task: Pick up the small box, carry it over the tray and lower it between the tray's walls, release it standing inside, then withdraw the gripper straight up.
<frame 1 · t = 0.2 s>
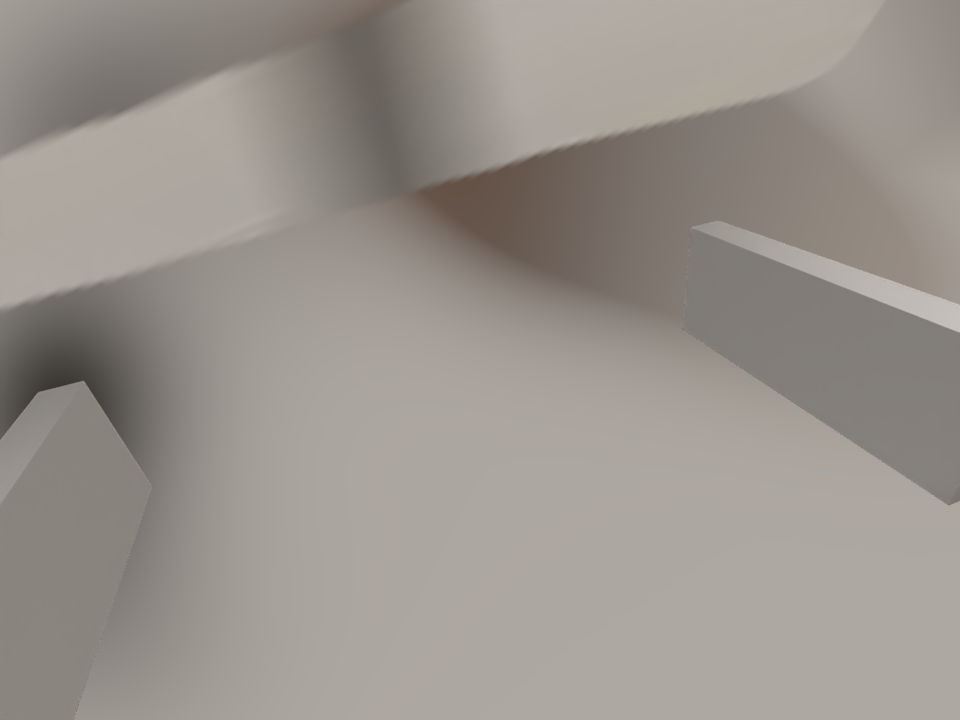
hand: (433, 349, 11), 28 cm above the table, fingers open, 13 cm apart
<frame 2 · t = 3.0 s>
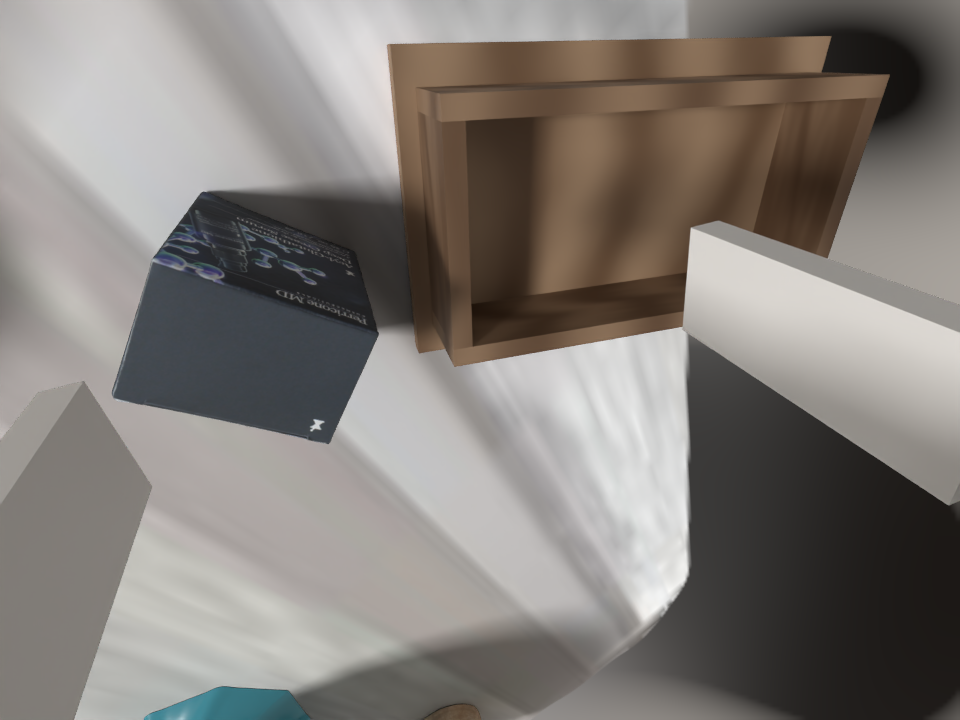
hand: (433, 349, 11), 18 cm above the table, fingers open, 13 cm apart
box: (266, 267, 27), on the table
tray: (609, 196, 31), on the table
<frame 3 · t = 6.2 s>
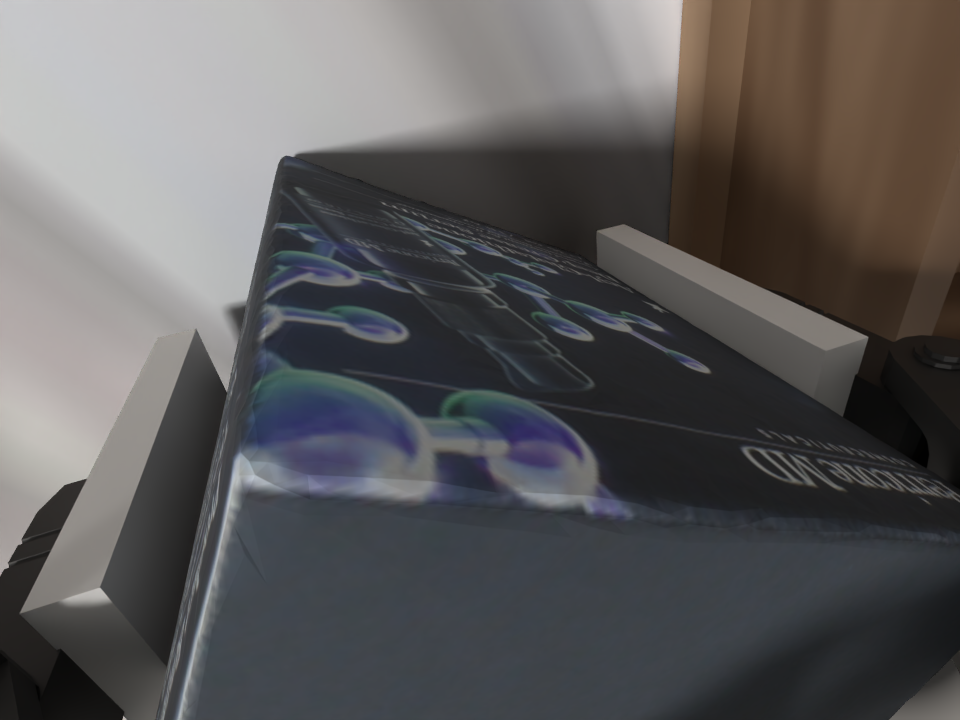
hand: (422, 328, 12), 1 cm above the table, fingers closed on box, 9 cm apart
box: (412, 307, 13), on the table, touching gripper
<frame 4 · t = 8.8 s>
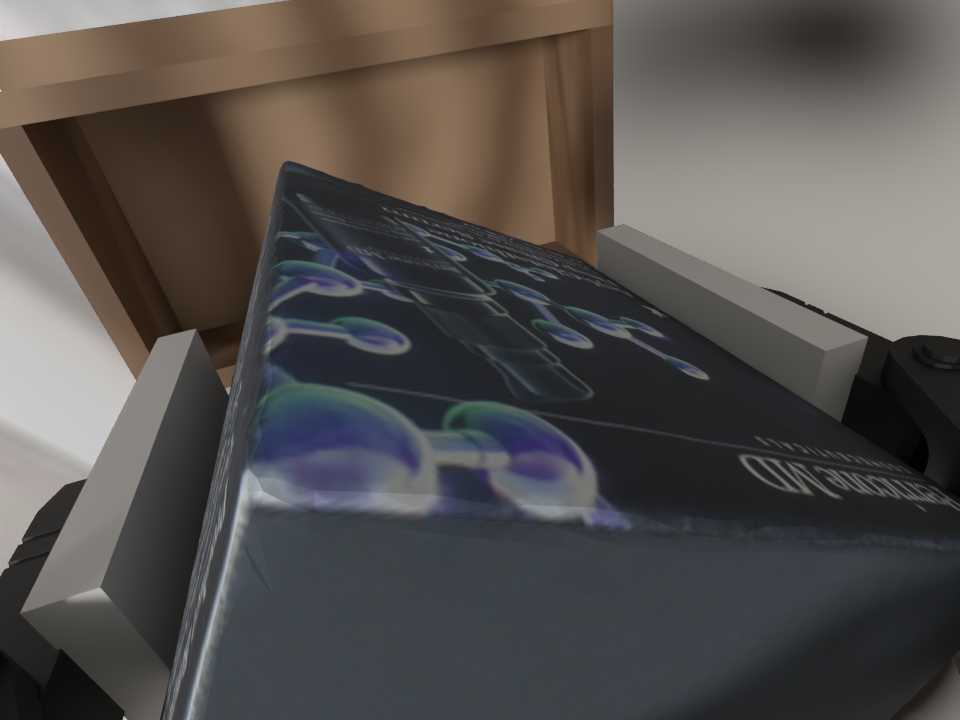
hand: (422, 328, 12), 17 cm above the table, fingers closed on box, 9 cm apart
box: (412, 311, 14), point 16 cm above the table, touching gripper
tray: (356, 185, 27), on the table
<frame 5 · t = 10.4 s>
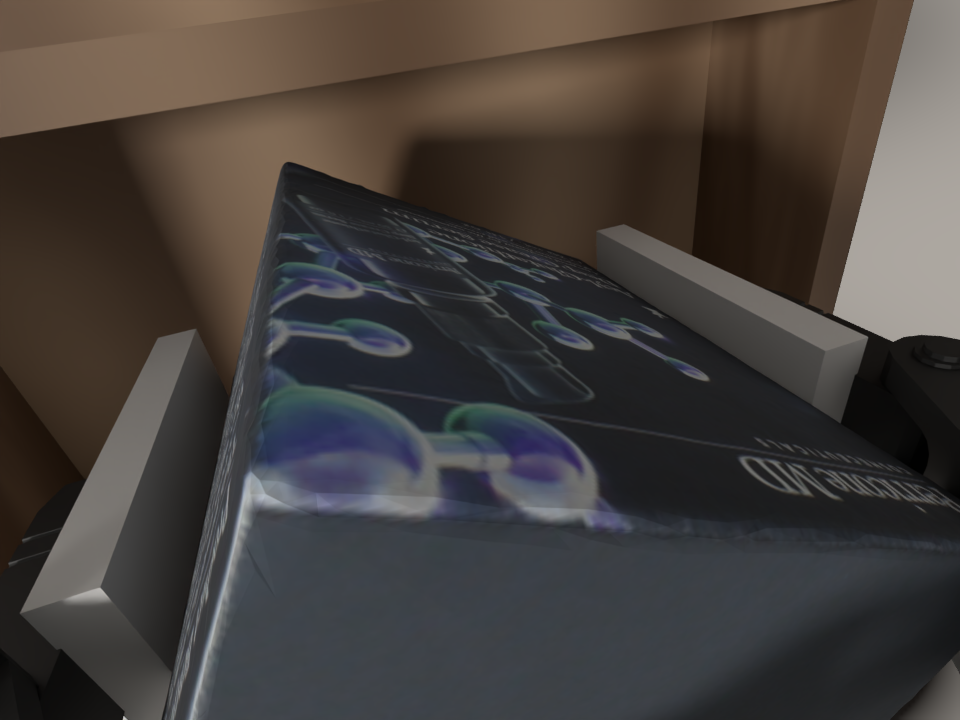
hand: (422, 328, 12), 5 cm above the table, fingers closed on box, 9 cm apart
box: (413, 311, 14), point 3 cm above the table, touching gripper
tray: (389, 261, 16), on the table
when the fingers open (4 cm above the table, at t = 11.5 s): box drops 1 cm, resting on tray.
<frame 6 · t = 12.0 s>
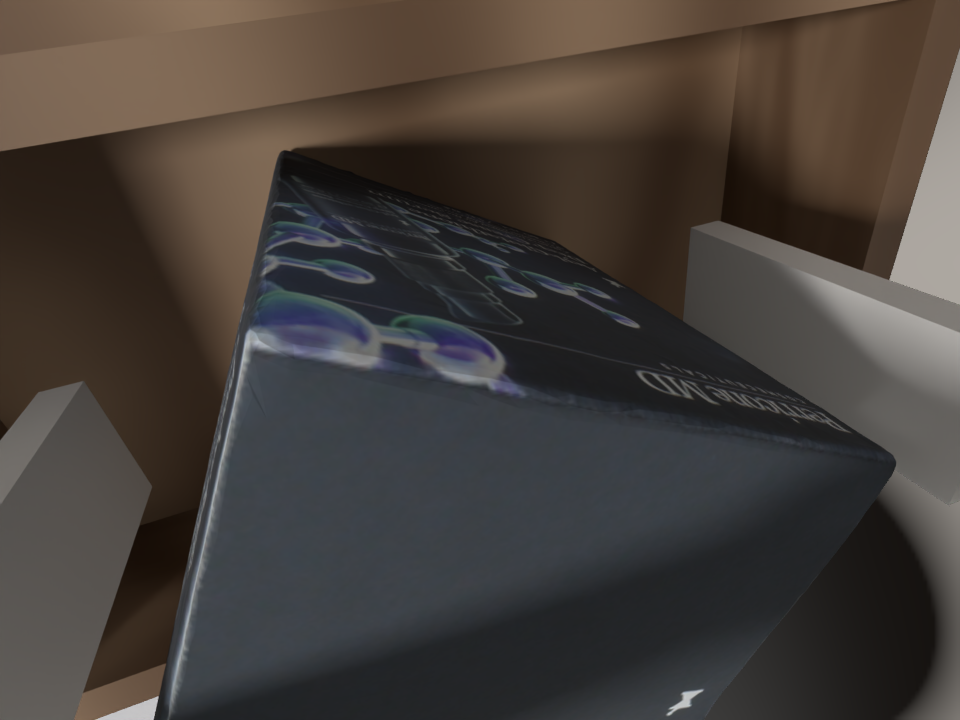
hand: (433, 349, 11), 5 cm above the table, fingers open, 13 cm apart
box: (400, 290, 15), point 1 cm above the table, touching tray
tray: (397, 278, 15), on the table
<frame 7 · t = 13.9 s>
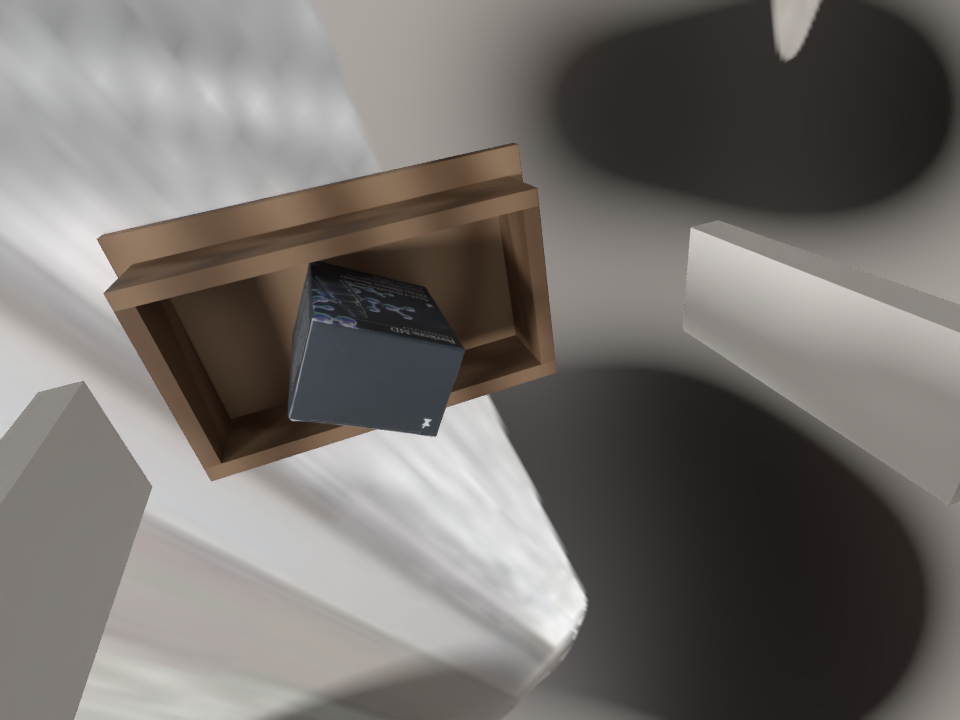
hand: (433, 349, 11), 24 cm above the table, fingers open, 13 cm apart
box: (359, 309, 35), point 1 cm above the table, touching tray
tray: (358, 304, 35), on the table
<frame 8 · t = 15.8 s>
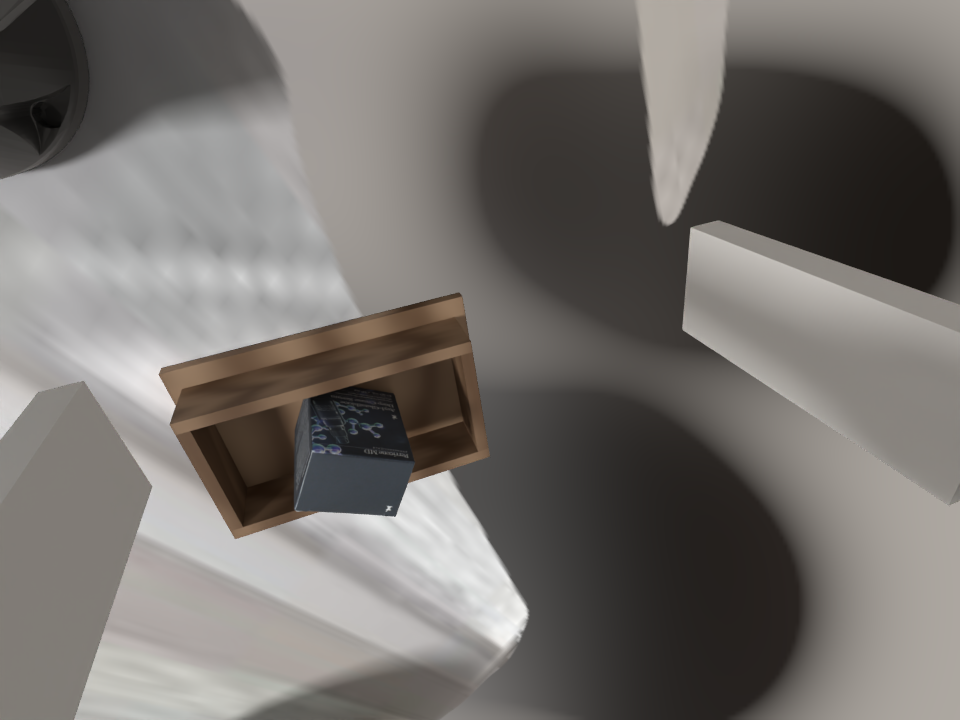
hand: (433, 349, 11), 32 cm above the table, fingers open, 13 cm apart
box: (344, 409, 47), point 1 cm above the table, touching tray
tray: (344, 403, 48), on the table
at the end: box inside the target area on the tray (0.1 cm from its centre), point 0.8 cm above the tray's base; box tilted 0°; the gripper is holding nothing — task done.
